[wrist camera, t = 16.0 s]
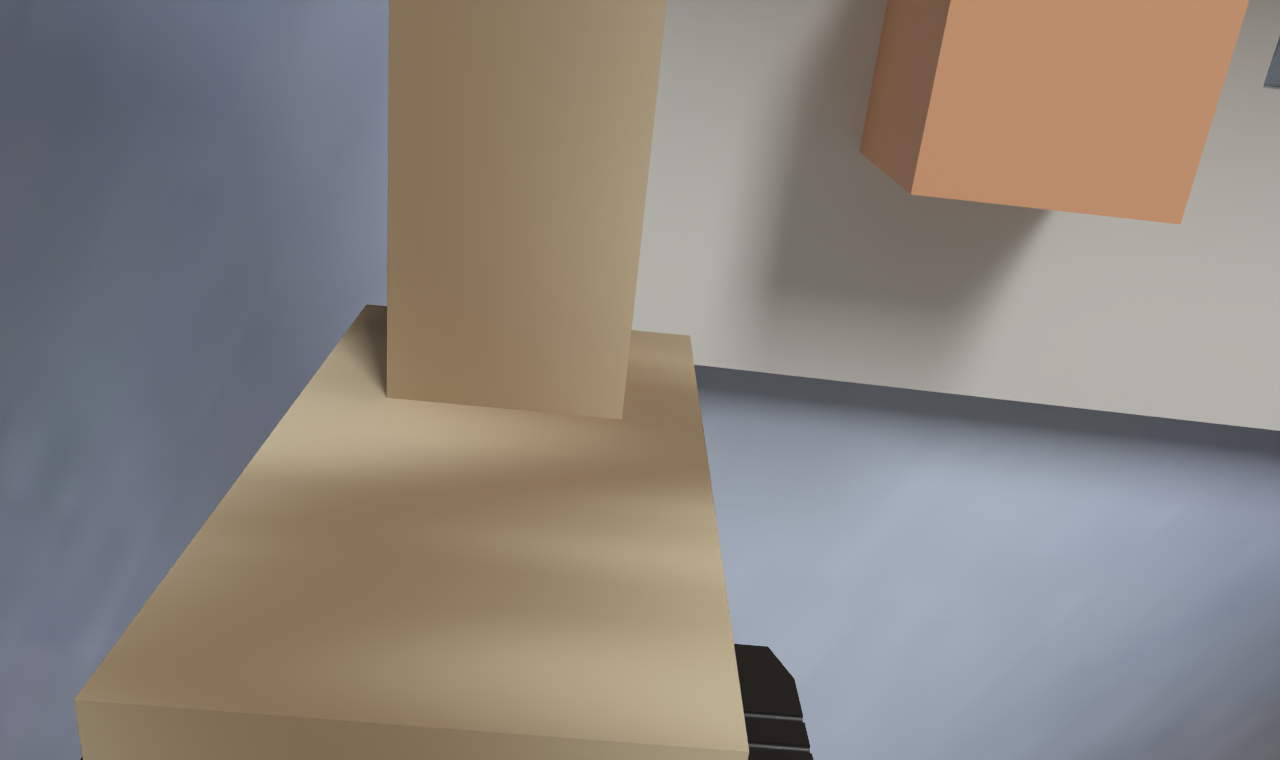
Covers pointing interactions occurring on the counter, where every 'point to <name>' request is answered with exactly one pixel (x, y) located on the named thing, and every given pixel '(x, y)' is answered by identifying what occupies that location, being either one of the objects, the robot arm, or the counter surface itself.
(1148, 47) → the cube
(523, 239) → the crook
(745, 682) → the robot arm
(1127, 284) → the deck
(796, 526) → the counter surface
